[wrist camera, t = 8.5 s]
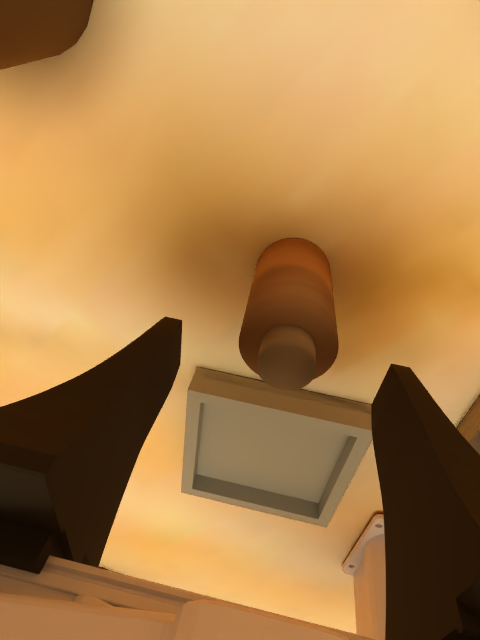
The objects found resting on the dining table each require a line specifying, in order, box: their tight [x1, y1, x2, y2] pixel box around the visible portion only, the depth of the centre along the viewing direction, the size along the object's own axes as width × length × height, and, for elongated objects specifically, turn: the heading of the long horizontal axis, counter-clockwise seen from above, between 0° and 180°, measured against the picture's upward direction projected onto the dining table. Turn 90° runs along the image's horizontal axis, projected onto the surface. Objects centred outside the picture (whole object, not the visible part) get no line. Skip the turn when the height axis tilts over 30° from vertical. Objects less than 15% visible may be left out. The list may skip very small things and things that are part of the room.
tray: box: [181, 367, 373, 527], centre depth 26 cm, size 11×11×2 cm
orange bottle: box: [239, 238, 338, 390], centre depth 16 cm, size 4×4×7 cm
